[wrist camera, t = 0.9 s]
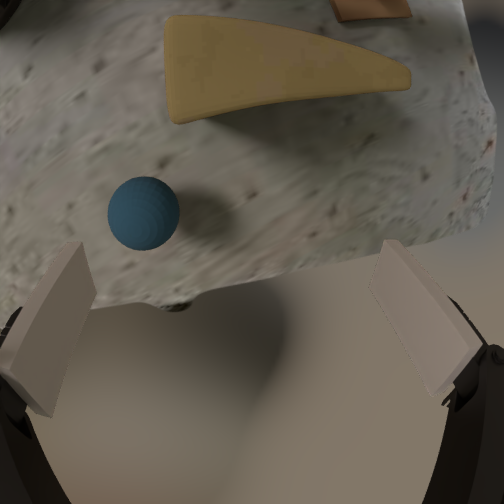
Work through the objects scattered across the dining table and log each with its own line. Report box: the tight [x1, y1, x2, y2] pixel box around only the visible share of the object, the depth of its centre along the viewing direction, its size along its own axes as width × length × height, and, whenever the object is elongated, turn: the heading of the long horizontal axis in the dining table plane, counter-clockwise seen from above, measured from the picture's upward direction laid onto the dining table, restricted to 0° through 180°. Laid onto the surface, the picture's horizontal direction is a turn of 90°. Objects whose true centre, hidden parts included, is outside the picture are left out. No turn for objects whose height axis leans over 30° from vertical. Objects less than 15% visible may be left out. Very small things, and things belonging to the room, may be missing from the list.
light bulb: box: [108, 177, 179, 251], centre depth 32 cm, size 8×8×12 cm
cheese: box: [164, 15, 411, 125], centre depth 24 cm, size 22×10×15 cm, turn 91°
